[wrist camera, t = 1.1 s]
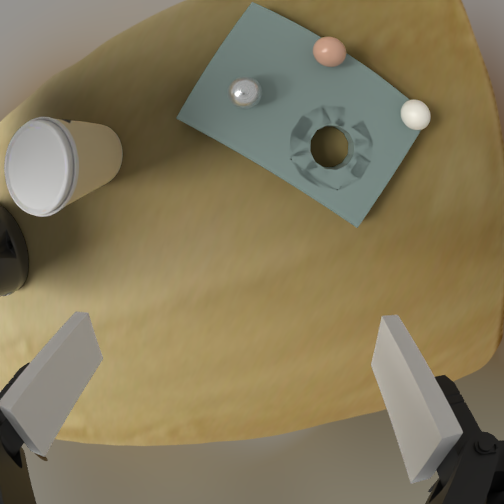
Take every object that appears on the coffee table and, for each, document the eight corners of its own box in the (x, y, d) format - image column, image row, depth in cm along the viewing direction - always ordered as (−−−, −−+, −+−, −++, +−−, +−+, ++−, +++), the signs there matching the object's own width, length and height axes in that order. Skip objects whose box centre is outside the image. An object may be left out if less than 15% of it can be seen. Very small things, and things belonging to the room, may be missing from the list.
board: (182, 119, 32) (176, 118, 29) (253, 10, 27) (252, 2, 24) (351, 221, 35) (357, 227, 32) (419, 117, 30) (429, 116, 27)
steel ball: (224, 100, 29) (219, 96, 26) (240, 74, 28) (237, 67, 25) (251, 115, 29) (249, 113, 26) (268, 89, 28) (268, 84, 25)
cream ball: (390, 117, 28) (402, 116, 25) (404, 94, 27) (417, 91, 24) (413, 136, 28) (426, 136, 25) (426, 113, 27) (440, 112, 24)
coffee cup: (108, 102, 31) (46, 95, 20) (142, 168, 34) (88, 185, 23) (56, 145, 33) (-9, 156, 22) (87, 205, 36) (27, 235, 25)
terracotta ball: (304, 58, 27) (308, 50, 24) (320, 36, 25) (325, 26, 22) (332, 75, 27) (339, 69, 24) (347, 52, 26) (355, 45, 23)
